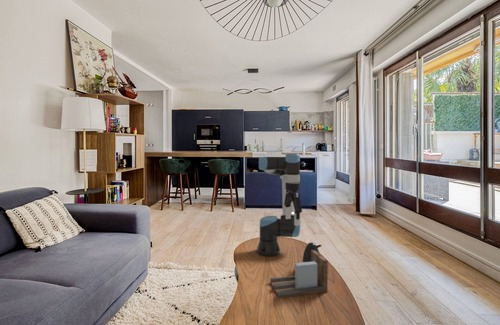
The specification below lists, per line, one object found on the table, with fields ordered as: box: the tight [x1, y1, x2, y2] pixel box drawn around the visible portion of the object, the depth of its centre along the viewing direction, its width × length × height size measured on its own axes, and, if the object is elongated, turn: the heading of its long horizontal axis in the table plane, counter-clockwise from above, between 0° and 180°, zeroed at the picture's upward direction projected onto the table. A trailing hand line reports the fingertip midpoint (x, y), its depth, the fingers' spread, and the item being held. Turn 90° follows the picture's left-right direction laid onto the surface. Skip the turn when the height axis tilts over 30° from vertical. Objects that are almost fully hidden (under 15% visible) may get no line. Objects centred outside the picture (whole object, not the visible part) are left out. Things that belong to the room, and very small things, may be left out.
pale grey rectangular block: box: [294, 261, 317, 289], centre depth 127 cm, size 3×10×12 cm, turn 101°
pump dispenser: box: [301, 242, 322, 263], centre depth 149 cm, size 10×10×15 cm
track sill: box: [269, 250, 329, 298], centre depth 129 cm, size 14×24×15 cm, turn 101°
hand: (292, 222), depth 142 cm, fingers open, 13 cm apart
